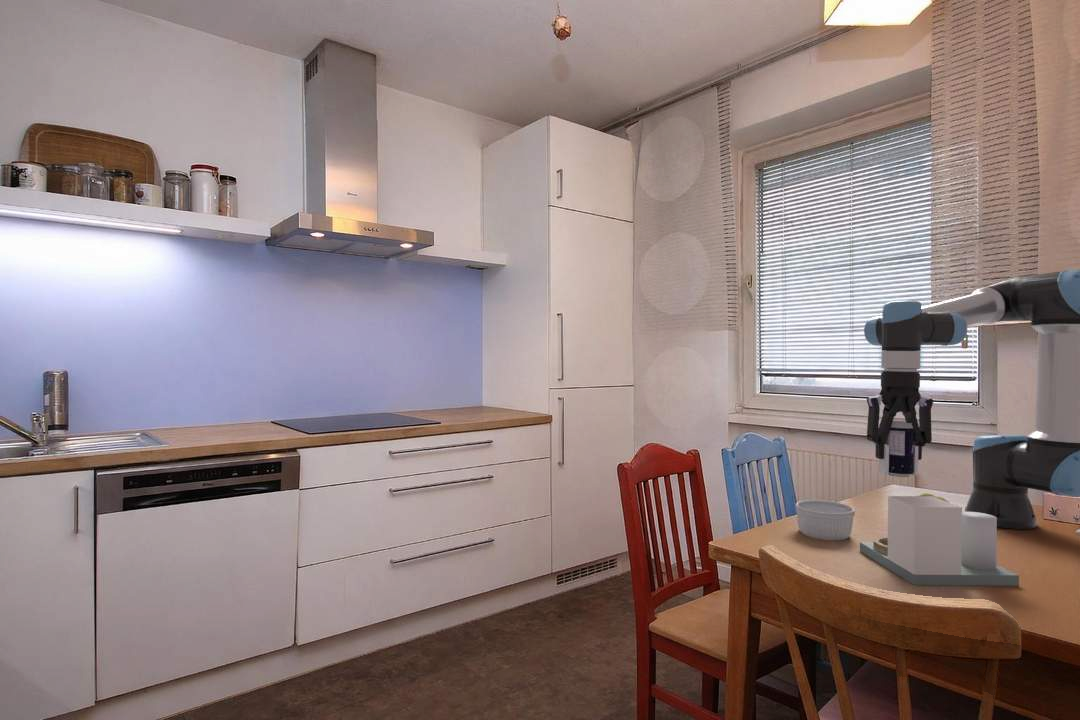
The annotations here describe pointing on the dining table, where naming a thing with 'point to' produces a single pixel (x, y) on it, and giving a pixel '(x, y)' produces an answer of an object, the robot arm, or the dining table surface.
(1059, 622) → the dining table surface
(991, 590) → the dining table surface
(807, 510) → the ramekin
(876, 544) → the socket
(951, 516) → the block
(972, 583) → the board
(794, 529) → the dining table surface
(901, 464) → the beverage can
